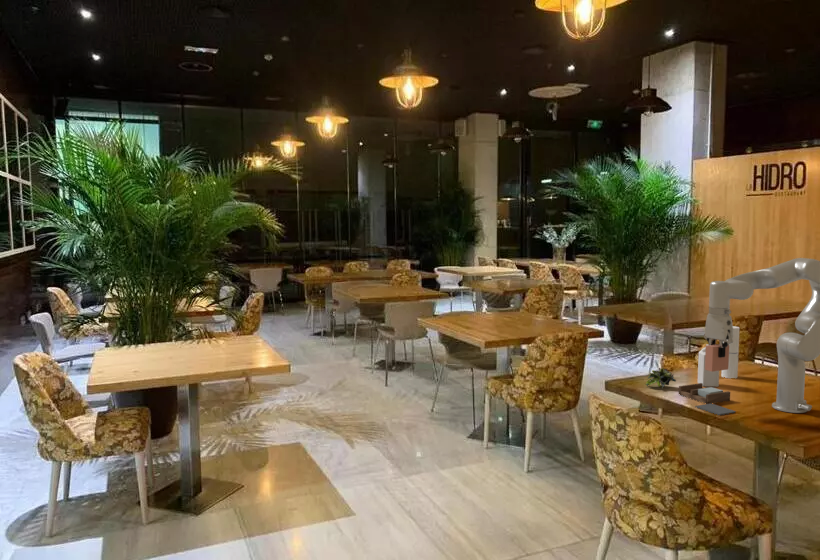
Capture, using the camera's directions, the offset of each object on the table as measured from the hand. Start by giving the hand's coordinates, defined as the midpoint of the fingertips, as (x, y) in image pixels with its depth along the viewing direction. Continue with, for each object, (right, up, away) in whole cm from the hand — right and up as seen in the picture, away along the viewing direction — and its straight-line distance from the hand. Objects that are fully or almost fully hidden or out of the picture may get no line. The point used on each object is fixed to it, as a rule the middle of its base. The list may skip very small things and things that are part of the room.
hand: (717, 355), depth 253 cm
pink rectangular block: (0, -6, +1) cm, 6 cm away
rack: (+4, -21, +20) cm, 29 cm away
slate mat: (0, -23, +2) cm, 23 cm away
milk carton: (+16, -19, +41) cm, 48 cm away
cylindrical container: (+33, -17, +55) cm, 67 cm away
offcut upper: (+5, -19, +16) cm, 26 cm away
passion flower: (-8, -20, +36) cm, 42 cm away
